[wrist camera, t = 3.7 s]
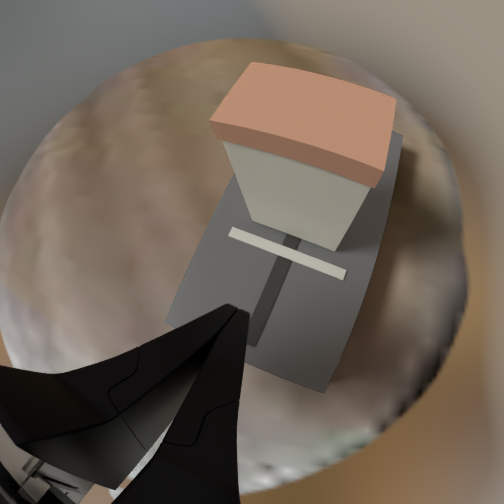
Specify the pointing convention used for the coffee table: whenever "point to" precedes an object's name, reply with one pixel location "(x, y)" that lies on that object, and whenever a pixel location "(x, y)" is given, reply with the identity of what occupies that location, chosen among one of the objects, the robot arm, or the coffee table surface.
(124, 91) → the coffee table surface
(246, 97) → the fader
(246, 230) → the plate
